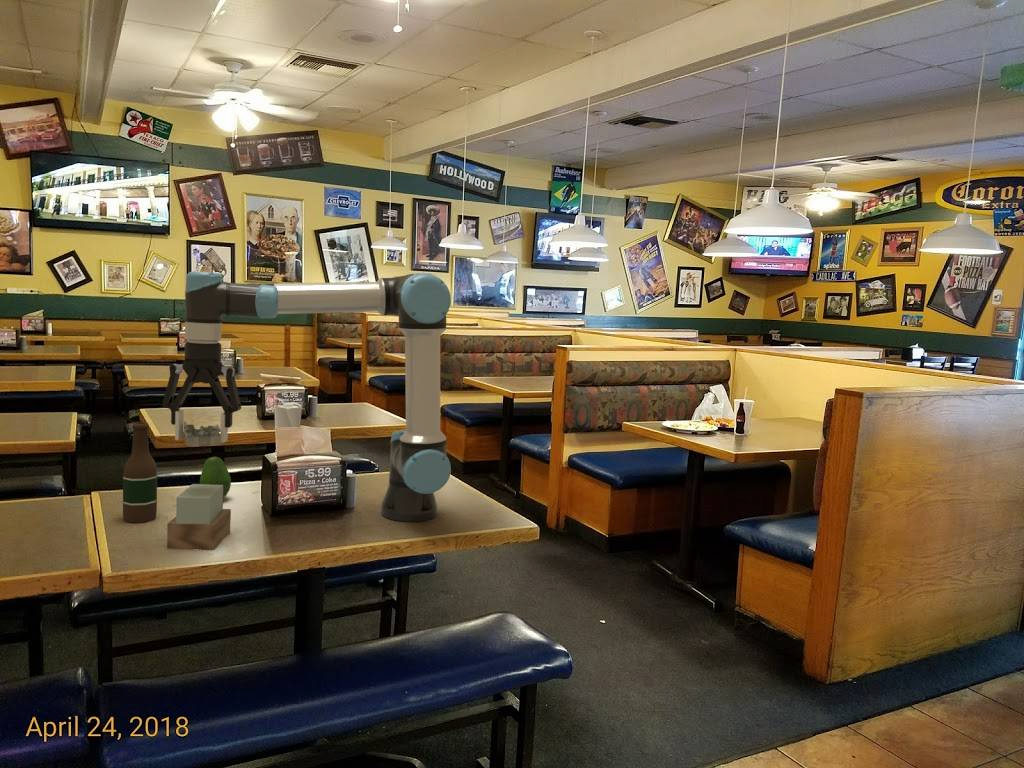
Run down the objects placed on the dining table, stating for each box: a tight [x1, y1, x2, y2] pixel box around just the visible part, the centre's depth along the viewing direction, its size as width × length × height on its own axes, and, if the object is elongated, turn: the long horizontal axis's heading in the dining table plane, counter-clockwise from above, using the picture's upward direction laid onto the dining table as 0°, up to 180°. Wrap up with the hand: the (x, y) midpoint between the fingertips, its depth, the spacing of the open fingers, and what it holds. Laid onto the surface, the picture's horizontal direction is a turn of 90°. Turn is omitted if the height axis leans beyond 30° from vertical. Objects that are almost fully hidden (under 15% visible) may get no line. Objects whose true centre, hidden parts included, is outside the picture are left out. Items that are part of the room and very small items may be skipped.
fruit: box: [199, 456, 232, 499], centre depth 195 cm, size 8×8×12 cm
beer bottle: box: [122, 421, 158, 524], centre depth 176 cm, size 8×8×24 cm
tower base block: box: [166, 508, 232, 551], centre depth 165 cm, size 10×12×6 cm
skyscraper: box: [273, 397, 303, 452], centre depth 203 cm, size 8×8×28 cm
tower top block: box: [175, 483, 224, 525], centre depth 164 cm, size 7×11×6 cm, turn 7°
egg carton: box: [183, 421, 221, 448], centre depth 163 cm, size 11×8×4 cm
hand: (201, 440), depth 163 cm, fingers closed on egg carton, 9 cm apart
